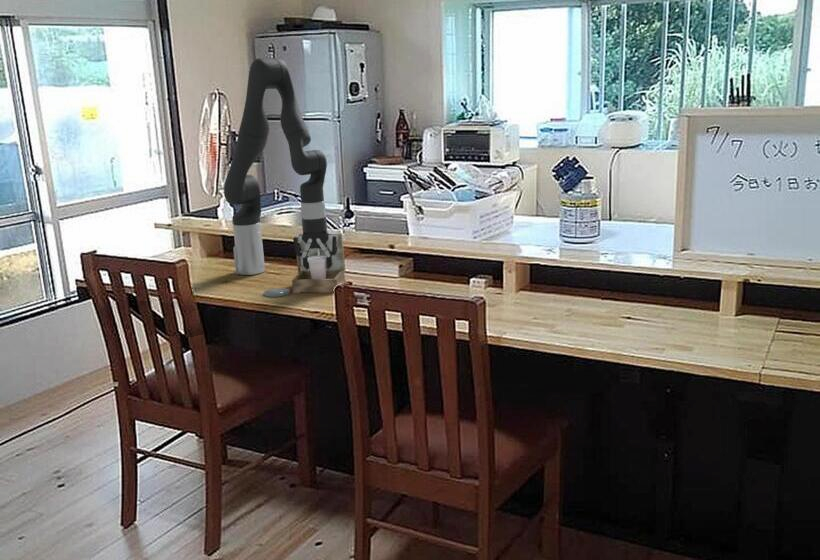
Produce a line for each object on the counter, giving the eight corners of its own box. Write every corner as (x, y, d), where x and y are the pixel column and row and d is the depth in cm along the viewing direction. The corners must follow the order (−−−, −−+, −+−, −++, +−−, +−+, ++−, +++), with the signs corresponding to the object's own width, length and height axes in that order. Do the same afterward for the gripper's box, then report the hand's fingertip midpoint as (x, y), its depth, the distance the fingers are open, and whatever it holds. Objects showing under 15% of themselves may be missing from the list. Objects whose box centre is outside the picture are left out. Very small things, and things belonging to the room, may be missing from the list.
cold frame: (289, 292, 251) (284, 242, 247) (299, 282, 263) (295, 233, 259) (337, 292, 249) (333, 241, 245) (345, 281, 261) (341, 232, 257)
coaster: (260, 297, 247) (260, 295, 247) (268, 290, 255) (268, 288, 255) (286, 297, 246) (285, 295, 246) (292, 289, 254) (292, 288, 254)
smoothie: (328, 289, 252) (325, 245, 249) (308, 290, 252) (304, 246, 249) (330, 284, 258) (327, 241, 255) (310, 285, 259) (307, 242, 255)
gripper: (339, 213, 252) (342, 265, 256) (294, 214, 254) (298, 266, 258) (334, 217, 245) (338, 271, 249) (287, 218, 247) (292, 271, 251)
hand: (318, 268), depth 254 cm, fingers closed on smoothie, 6 cm apart
